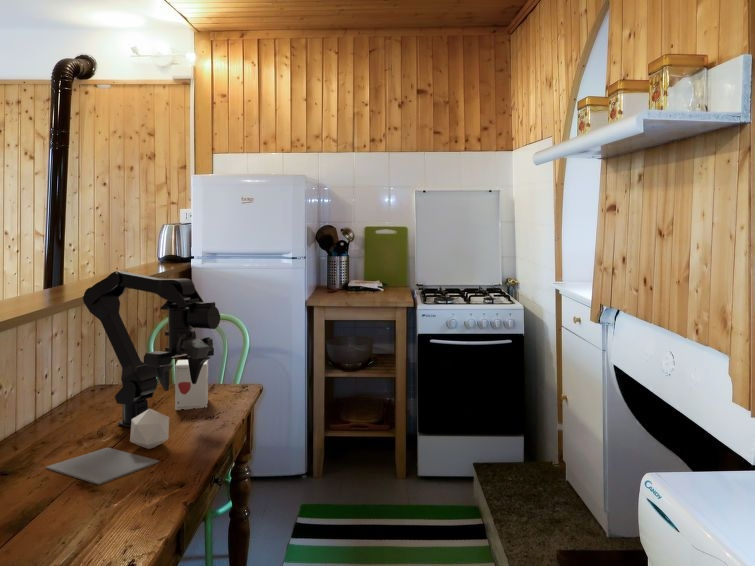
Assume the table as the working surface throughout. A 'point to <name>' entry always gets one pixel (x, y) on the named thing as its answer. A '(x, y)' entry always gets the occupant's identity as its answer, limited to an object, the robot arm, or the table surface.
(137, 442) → the grey faceted block
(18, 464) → the table surface
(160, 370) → the robot arm
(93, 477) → the mat
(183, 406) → the supplement box
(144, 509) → the table surface
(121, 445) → the table surface
